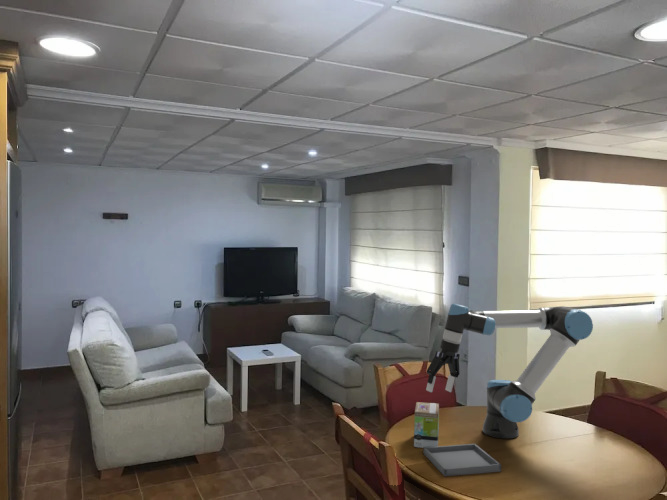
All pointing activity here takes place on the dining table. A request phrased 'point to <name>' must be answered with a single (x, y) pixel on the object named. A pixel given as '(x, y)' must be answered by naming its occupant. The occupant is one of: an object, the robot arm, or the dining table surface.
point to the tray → (461, 459)
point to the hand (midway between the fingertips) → (438, 391)
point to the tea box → (426, 425)
